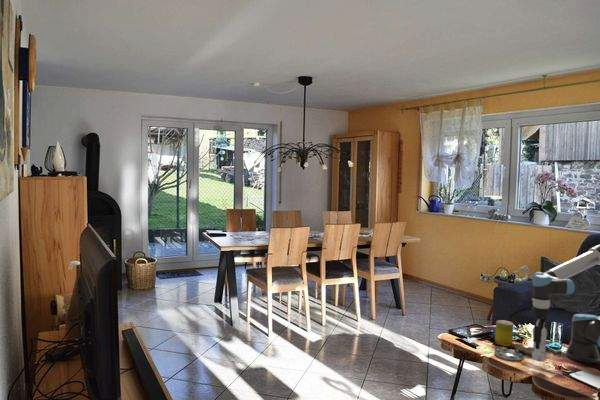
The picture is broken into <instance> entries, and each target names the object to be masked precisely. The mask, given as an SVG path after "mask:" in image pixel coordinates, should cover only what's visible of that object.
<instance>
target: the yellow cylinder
mask: <svg viewBox="0 0 600 400" xmlns="http://www.w3.org/2000/svg"><path fill="white" fill-rule="evenodd" d="M494 333H495V336H494V338H495V339H494V343H495V344H497V345H499V346H504V347H511V346H512V345H513V337H514V336H513V335H514V322H512V321H508V320H506V319H505V320H504V319H498V320H496V321H495V332H494Z"/></svg>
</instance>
